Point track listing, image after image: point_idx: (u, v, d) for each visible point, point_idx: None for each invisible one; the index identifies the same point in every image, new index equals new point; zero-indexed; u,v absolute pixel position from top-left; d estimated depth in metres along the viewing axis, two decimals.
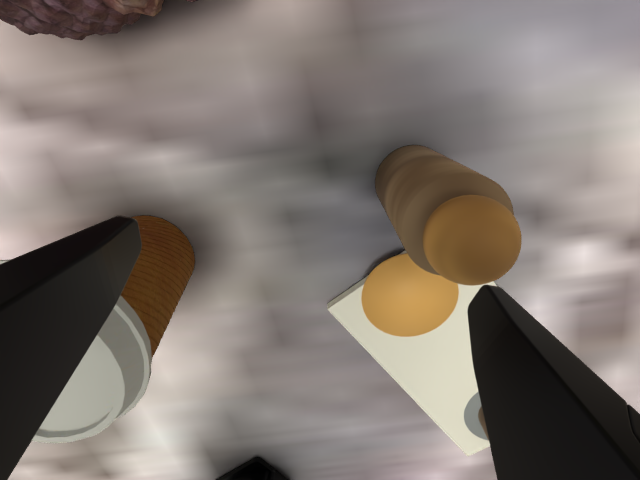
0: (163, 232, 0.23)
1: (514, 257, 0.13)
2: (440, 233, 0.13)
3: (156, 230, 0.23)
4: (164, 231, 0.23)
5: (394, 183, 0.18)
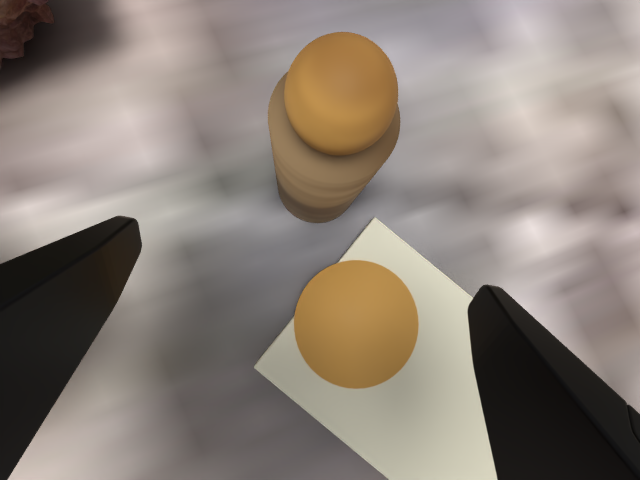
0: None
1: (385, 68, 0.10)
2: (291, 71, 0.10)
3: None
4: None
5: None
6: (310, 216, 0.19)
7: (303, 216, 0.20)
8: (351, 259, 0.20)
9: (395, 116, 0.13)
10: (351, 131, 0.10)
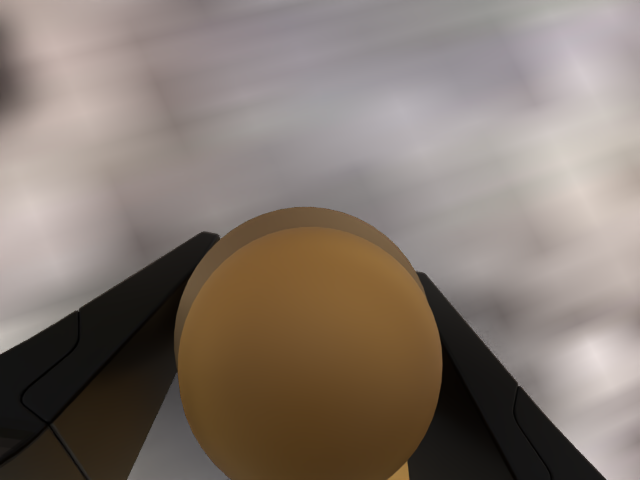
0: None
1: (419, 364, 0.04)
2: (184, 341, 0.04)
3: None
4: None
5: None
6: None
7: None
8: None
9: None
10: None
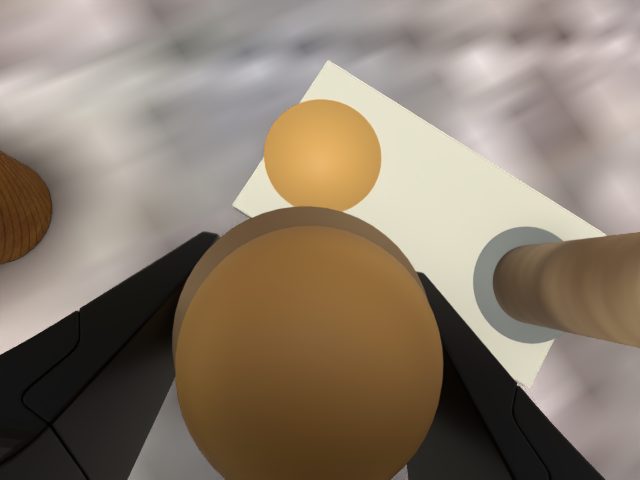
0: None
1: (420, 365, 0.04)
2: (181, 341, 0.04)
3: None
4: None
5: None
6: None
7: None
8: (310, 99, 0.21)
9: None
10: None
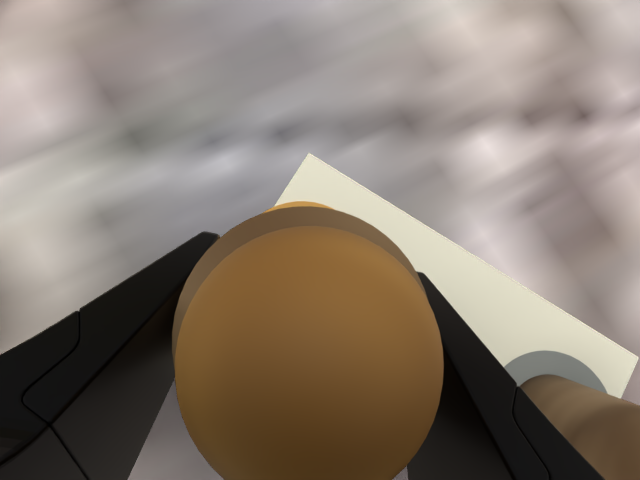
0: None
1: (421, 365, 0.04)
2: (181, 342, 0.04)
3: None
4: None
5: None
6: None
7: None
8: (287, 201, 0.18)
9: None
10: None
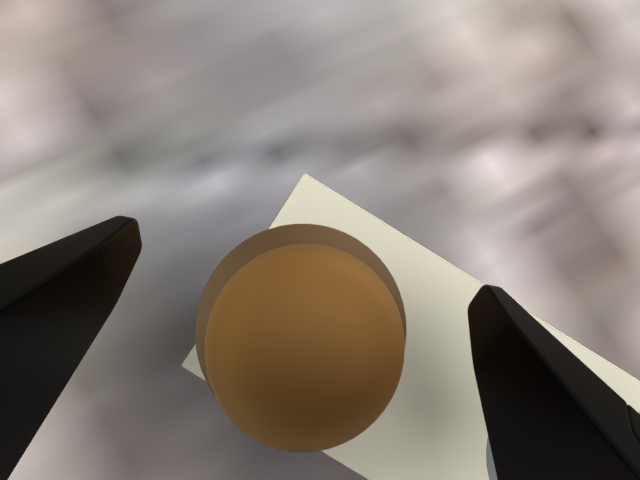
0: None
1: (383, 347, 0.05)
2: (210, 331, 0.06)
3: None
4: None
5: None
6: None
7: None
8: (282, 225, 0.17)
9: None
10: (319, 450, 0.05)
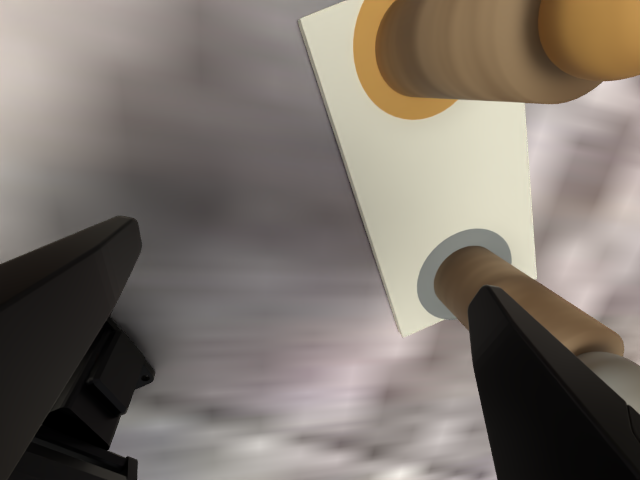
0: None
1: None
2: None
3: None
4: None
5: None
6: (398, 77, 0.16)
7: (389, 71, 0.16)
8: None
9: None
10: (619, 55, 0.08)
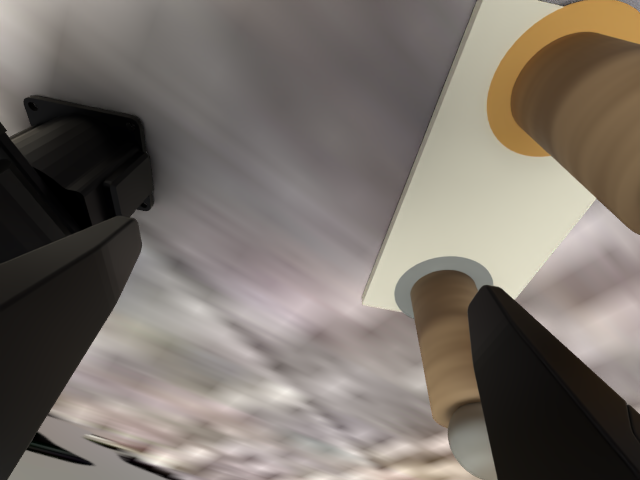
0: None
1: None
2: None
3: None
4: None
5: None
6: (526, 107, 0.16)
7: (523, 94, 0.16)
8: None
9: None
10: None
